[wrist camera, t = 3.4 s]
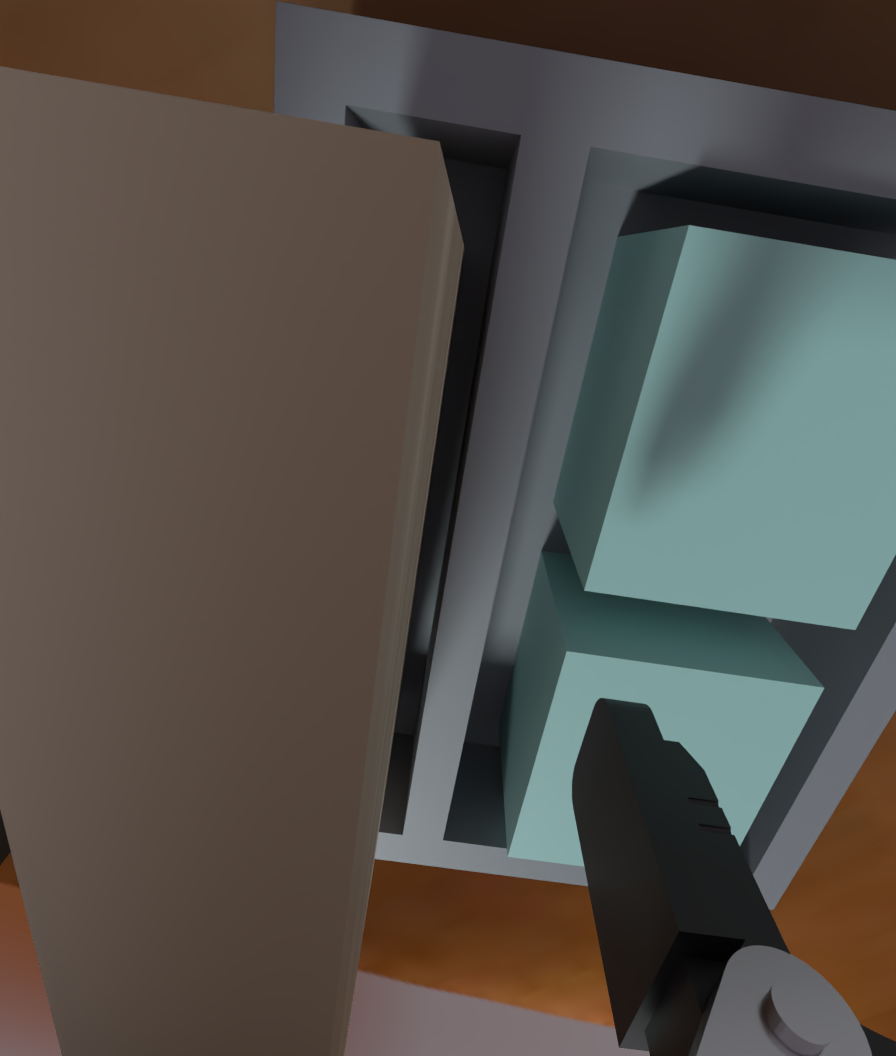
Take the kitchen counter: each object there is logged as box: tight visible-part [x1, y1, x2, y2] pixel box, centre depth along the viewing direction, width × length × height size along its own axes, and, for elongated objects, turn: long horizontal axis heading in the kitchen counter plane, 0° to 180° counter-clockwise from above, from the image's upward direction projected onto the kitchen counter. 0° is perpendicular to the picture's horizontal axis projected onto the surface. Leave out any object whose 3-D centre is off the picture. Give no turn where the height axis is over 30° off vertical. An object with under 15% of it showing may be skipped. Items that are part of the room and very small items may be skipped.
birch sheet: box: [0, 67, 465, 1056], centre depth 11 cm, size 2×14×14 cm, turn 172°
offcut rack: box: [274, 1, 896, 910], centre depth 16 cm, size 16×20×5 cm
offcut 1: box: [553, 225, 896, 630], centre depth 13 cm, size 6×7×5 cm
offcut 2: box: [499, 551, 824, 867], centre depth 17 cm, size 6×7×5 cm
